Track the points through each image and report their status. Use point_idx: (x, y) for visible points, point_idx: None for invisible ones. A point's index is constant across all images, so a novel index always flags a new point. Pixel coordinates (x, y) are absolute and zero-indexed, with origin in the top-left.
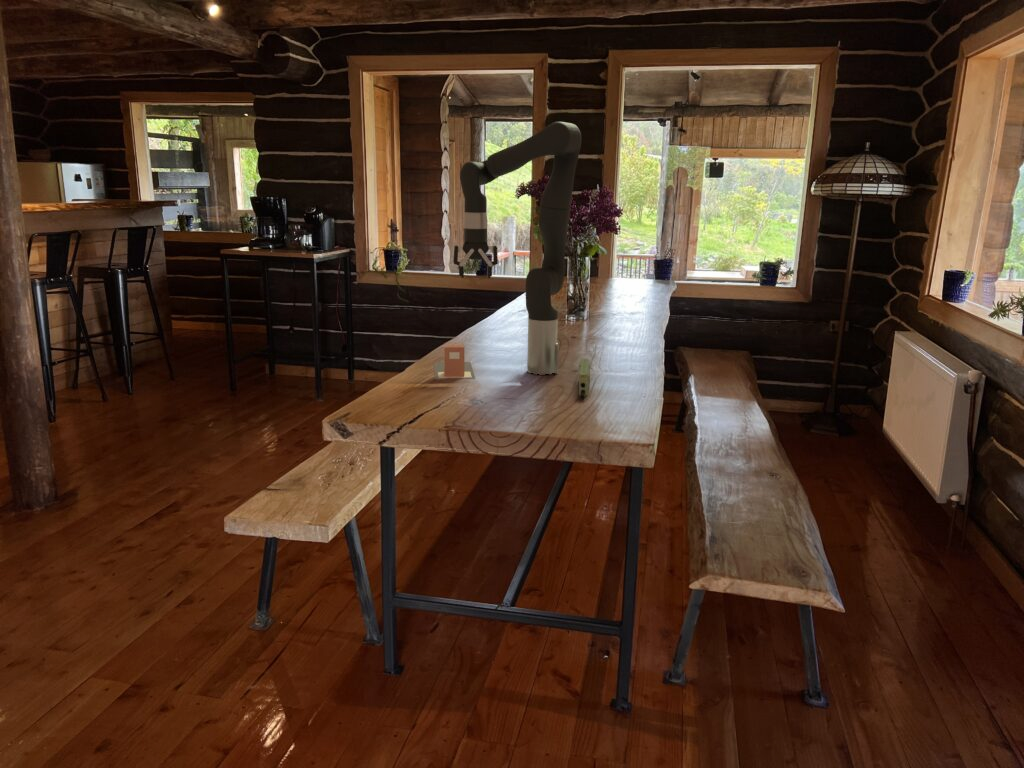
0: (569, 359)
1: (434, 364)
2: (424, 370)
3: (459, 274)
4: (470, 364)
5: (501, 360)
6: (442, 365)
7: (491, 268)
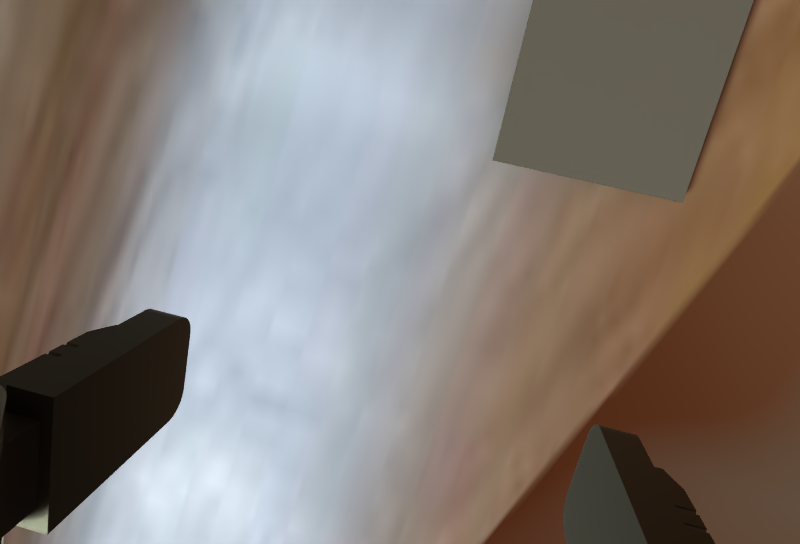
0: (10, 136)
1: (694, 158)
2: (763, 109)
3: (683, 490)
4: (510, 104)
5: (317, 209)
6: (661, 123)
7: (3, 382)
